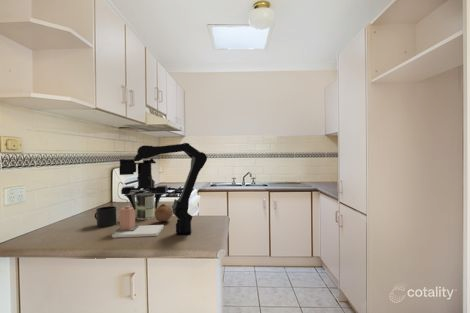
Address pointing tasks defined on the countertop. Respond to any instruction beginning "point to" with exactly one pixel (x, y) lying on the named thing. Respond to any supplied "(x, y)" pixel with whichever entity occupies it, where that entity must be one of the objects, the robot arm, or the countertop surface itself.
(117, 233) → the build board
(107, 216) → the mug
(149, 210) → the coffee can
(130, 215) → the pillar
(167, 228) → the countertop surface
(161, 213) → the onion
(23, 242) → the countertop surface
